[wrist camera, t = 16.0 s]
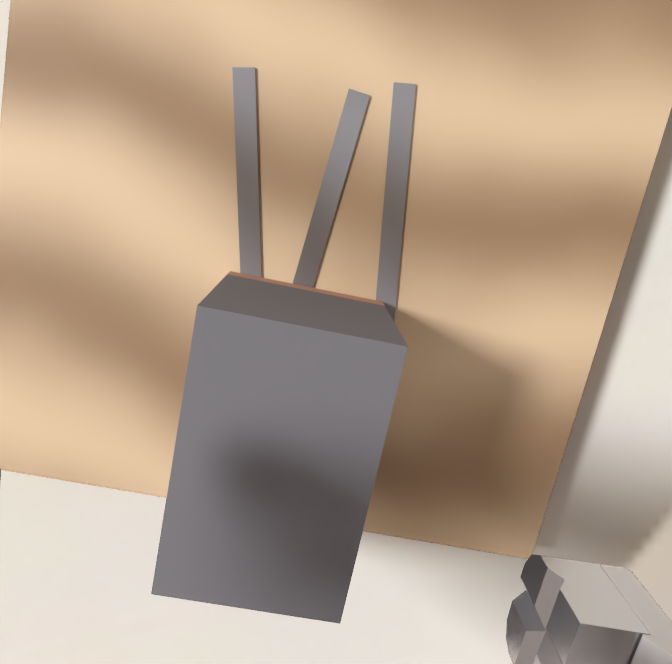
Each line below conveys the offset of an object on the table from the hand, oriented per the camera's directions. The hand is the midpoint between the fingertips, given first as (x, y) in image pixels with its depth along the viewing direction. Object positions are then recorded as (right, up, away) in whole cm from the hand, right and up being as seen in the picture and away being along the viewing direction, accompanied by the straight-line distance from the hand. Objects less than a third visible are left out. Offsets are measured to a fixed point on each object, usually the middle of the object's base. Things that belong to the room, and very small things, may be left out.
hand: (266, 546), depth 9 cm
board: (+1, +8, +9) cm, 12 cm away
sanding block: (0, +1, +9) cm, 9 cm away
